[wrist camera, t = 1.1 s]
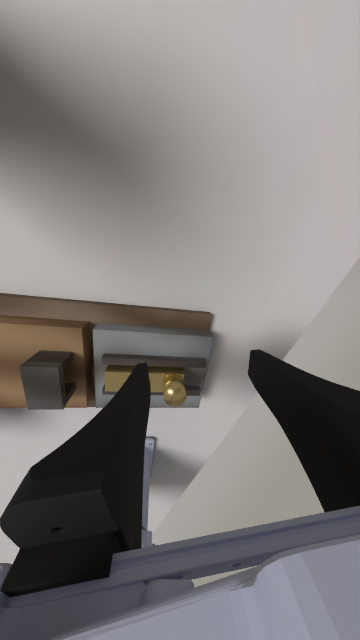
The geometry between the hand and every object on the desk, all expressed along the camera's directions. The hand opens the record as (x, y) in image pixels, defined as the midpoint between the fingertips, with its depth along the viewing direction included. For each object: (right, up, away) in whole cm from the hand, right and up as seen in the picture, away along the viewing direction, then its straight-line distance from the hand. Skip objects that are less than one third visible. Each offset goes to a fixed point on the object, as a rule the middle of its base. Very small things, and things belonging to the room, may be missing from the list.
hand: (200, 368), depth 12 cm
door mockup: (-11, -1, +9) cm, 15 cm away
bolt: (-5, -3, +7) cm, 9 cm away
